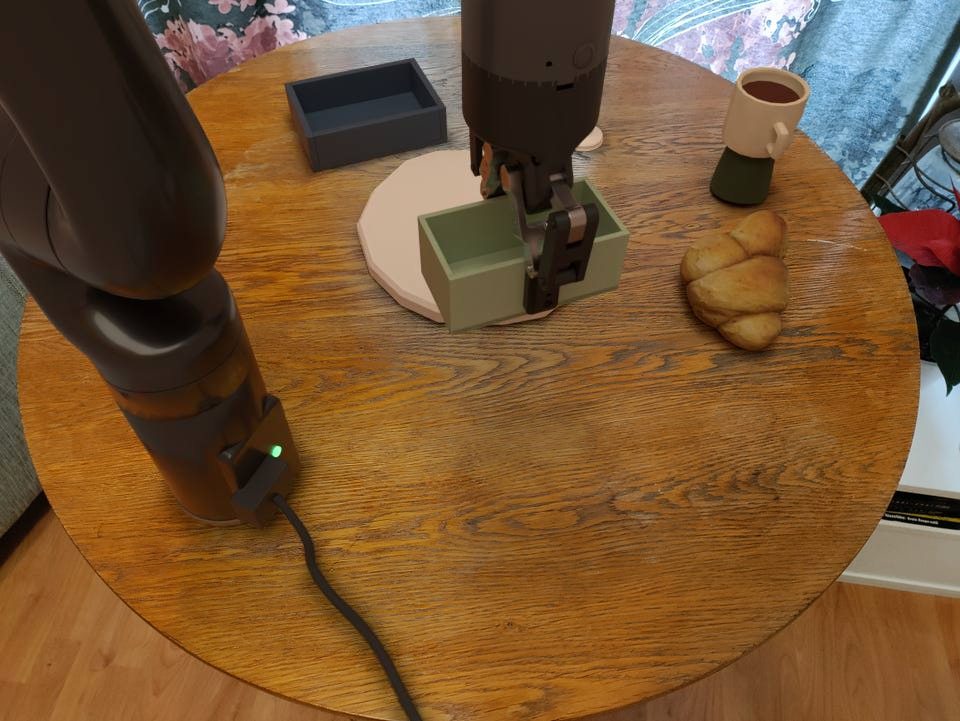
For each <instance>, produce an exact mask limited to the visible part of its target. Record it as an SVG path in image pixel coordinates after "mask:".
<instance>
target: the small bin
mask: <svg viewBox="0 0 960 721" xmlns="http://www.w3.org/2000/svg"><path fill="white" fill-rule="evenodd" d="M571 191H572V193H573V195H574V196H575V198H576V200H577V201H578V203H579V205H584V204H588V203H594V204H595V205H596V206H597V208H598V211H599V224H598V228H597V232H596V235H595V239H594V243H593V247H592V251H591V255H590V258H589V262H588V266H587V270H586V274H585V278H584V280H583V281H580V282H577V283H570V284H567V285H563V286H560V290H559V298H558V305H557V306H558V307H559V306H564V305H567V304H570V303H574V302H577V301H581V300H584V299H588V298H592V297H595V296H599V295H603V294H607V293H609V292H613V291H617V290H619V288H620V283H621V280H622V279H621V278H622V273H623V268H624V264H625V261H626V255H627V250H628V247H629V246H628V245H629V241H630V236H631V232H630V231H629V229H628V228H627V227H626V225H625V224H624V223H623V221H622V220H621V219H620V218H619V216H618V214H617V213H616V212H615V211H614V210H613V208H612V207H611V205H610V204H609V203H608V202H607V200H606V199H605V197H604V196H603V195H602V194H601V192H600V191H599V190H598V188H597V186H595V184H594V183H593V182H592V180H591V179H590V178H589V176H588V175H583V176H579V177H574V183H573V188H572V190H571ZM552 212H553V209H551V210H550V211H547V212H542V213H538V214H534V215H526V219H527V224H529V223H534V222H538V221H542V220H546V219H548V216H549V214H550V213H552ZM417 218H418V233H419V247H420V261H421V273H422V275H423V277H424V279H425V281H426V283H427V285H428V288H429V290H430V292H431V294H432V296H433V298H434V300H435V302H436V305H437V307H438V309H439V311H440V313H441V315H442V317H443V319H444V321H445V322H444V324H445V326H446V328H447V330H448V332H449V334H450V336H451V337H452V336H456V335H459V334H464V333H466V332H470V331H474V330H477V329H481V328H484V327H485V328H486V327H488V326H491V325H496V324H495V323H499V322H503V321H506V320H510V319H513V318H517V317H521V316H524V315H528V314H527V312H526V311H525V309H524V307H523V295H524V282H525V269H526V264H525V256H524V249H523V242H522V241H521V240H519V239H518V238H516V237H515V236H514V234H513V228H512V221H511V214H510V207H509V200H508V195H503V196H499V197H495V198H491V199H487V200H482V201H478V202H474V203H470V204H466V205H462V206H457V207H453V208H449V209H445V210H441V211H436V212H432V213H428V214H424V215H420V216H417ZM544 239H545V238H543V239H540V240H539V241H538V243H537V247H538V255H542V250H543V244H544Z"/></svg>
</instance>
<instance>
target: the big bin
mask: <svg viewBox="0 0 960 721" xmlns="http://www.w3.org/2000/svg"><path fill="white" fill-rule="evenodd" d="M283 85H284V89H285V90H284V91H285V94H286V98H287V99H286V100H287V104H288V108H289V113H290V118H291V120H292V123H293V125H294V128H295V130H296V132H297V135H298V137H299V140H300V142H301V144H302V147H303V150H304V151H305V154H306V157H307V159H308V162H309V164H310V166H311V169H312V171H313V173H317V172H322V171H325V170H330V169H334V168H335V169H336V168H339V167H344V166H348V165H352V164H357V163H361V162H365V161H369V160H374V159H378V158H383V157H387V156H391V155H395V154H400V153H405V152H408V151H413V150H418V149H422V148H426V147H431V146H435V145H440V144H444V143H447V142H448V122H447V119H448V118H447V107H446V105H445V104H444V102H443V100H442V99H441V97H440V96H439V94H438V92H437V91H436V89H435V88H434V86H433V85H432V83H431V82H430V80H429V79H428V76H427V75H426V74H425V72H424V70H423V69H422V68H421V65H419V63H418V61H417V60H416V58H415V57H410V58H405V59H399V60H394V61H389V62H384V63H380V64H374V65H369V66H364V67H358V68H354V69H349V70H348V69H347V70H344V71H340V72H333V73H329V74H324V75H319V76H313V77H309V78H308V77H307V78H303V79H298V80H294V81H293V80H292V81H289V82H285V83H284V84H283Z"/></svg>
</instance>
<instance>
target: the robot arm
mask: <svg viewBox="0 0 960 721" xmlns="http://www.w3.org/2000/svg"><path fill="white" fill-rule="evenodd" d="M616 3H617V0H460V46H461V47H460V48H461V50H460V52H461V54H460V55H461V59H460V60H461V113H462V116H463V119H464V122H465V125H467V127H468V135H469V137H468V138H469V150H470V160H471V165H470V168H471V171H472V172H473V175H474V176H475V177H477V176H481V177H482V181H481V183H480V194H481V196H482V197H483V199H484V200H487V199H491V198H495V197H499V196H503V195H508V200H509V207H510V214H511V221H512V228H513V234H514V236H515V237H516V238H518V239H519V240H521V241H522V242H523V249H524V256H525V264H526V269H525V282H524V295H523V307H524V309H525V311H526V312H527V314H528V315H534V314H537V313H541V312H544V311H548V310H552V309H554V310H555V309H556V307H557V305H558V298H559V290H560V286H563V285H567V284H570V283H577V282H580V281H583V280H584V278H585V274H586V270H587V266H588V262H589V258H590V255H591V251H592V247H593V243H594V239H595V235H596V232H597V228H598V224H599V211H598V208H597V206H596V205H595V204H594V203H588V204H584V205H579V203H578V201H577V200H576V198H575V196H574V195H573V193H572V191H571V190H572V188H573V183H574V179H575V176H574V170H573V167H574V166H573V157H572V156H573V154H574V152H575V151H576V150H575V149H576V148H577V147H578V146H579V145H580V143H581V142H582V141H583V140H584V139H585V138H586V137H587V136H588V135H589V134H590V133H591V132H592V131H593V129H594V128H595V126H596V127H597V124H598V122H599V119H600V113H601V112H600V111H601V106H602V99H603V93H604V92H603V91H604V84H605V78H606V70H607V65H608V57H609V51H610V44H611V39H612V30H613V23H614V18H615V10H616ZM483 151H484V156H483ZM551 209H553V212H552V213H550V214H549V216H548V219H546V220H542V221H538V222H534V223H529V224H527V219H526V215H534V214H538V213H542V212H547V211H550V210H551ZM227 226H228V198H227V190H226V185H225V180H224V176H223V171H222V169H221V165H220V163H219V160H218V158H217V155H216V153H215V150H214V148H213V146H212V144H211V141H210V139H209V137H208V136H207V134H206V132H205V129H204V128H203V125H202V124H201V122H200V120H199V118H198V116H197V114H196V113H195V111H194V109H193V107H192V105H191V104H190V101H189V99H188V97H187V96H186V94H185V91H184V90H183V88H182V85H180V82H179V81H178V79H177V77H176V75H175V73H174V72H173V70H172V68H171V66H170V63H169V62H168V60H167V58H166V56H165V55H164V53H163V51H162V49H161V47H160V45H159V43H158V41H157V40H156V37H155V35H154V33H153V32H152V30H151V27H150V25H149V24H148V21H147V20H146V18H145V15H144V14H143V11H142V10H141V7H140V5H139V2H138V1H137V0H0V254H1V256H2V257H3V258H4V260H5V262H6V263H7V264H8V267H10V268H11V270H12V271H13V273H14V274H15V276H16V277H17V278H18V280H19V281H20V282H21V284H22V286H23V287H24V288H25V289H26V291H27V292H28V294H29V295H30V296H31V298H32V299H33V301H34V302H35V303H36V305H37V306H38V308H39V309H40V310H41V311H42V313H43V315H44V316H45V317H46V319H48V321H49V323H50V324H51V325H52V326H53V327H54V328H55V329H56V331H57V332H58V333H59V334H60V335H61V336H62V337H63V338H64V339H65V340H67V341H68V342H69V344H71V345H73V347H75V348H76V349H77V350H78V351H79V352H80V353H82V354H83V355H84V356H85V357H86V358H87V359H88V360H89V362H90V363H91V365H92V366H93V368H94V369H95V371H96V372H97V373H98V376H99V377H100V378H101V380H102V382H103V383H104V385H105V386H106V388H107V390H108V391H109V393H110V395H111V396H112V398H113V400H114V401H115V403H116V405H117V406H118V408H119V409H120V411H121V413H122V415H123V416H124V418H125V419H126V420H127V422H128V424H129V425H130V427H131V429H132V431H133V432H134V433H135V435H136V437H137V438H138V440H139V441H140V443H141V445H142V446H143V448H144V450H145V451H146V452H147V455H148V457H150V459H151V461H152V462H153V464H154V466H155V467H156V469H157V471H158V472H159V474H160V476H161V477H162V478H163V480H164V482H165V483H166V484H167V486H168V488H169V489H170V490H171V492H172V496H173V498H174V499H175V501H176V503H177V505H178V507H179V508H180V510H182V511H183V513H184V514H185V515H186V516H187V517H189V518H190V519H192V520H193V521H195V522H197V523H200V524H202V525H205V526H209V527H217V528H218V527H219V528H224V527H225V528H227V527H228V528H229V527H235V526H240V525H243V524H247V525H249V526H251V527H253V528H255V529H258V530H260V531H264V529H266V527H267V525H269V524H268V523H269V522H270V521H271V520H272V518H273V516H274V515H275V513H276V512H277V511H278V510H279V511H280V512H281V513H282V515H283V516H284V517H285V519H286V520H287V521H288V522H289V523H290V524H291V526H292V527H293V529H294V530H295V532H296V533H297V535H298V537H299V539H300V540H301V543H302V546H303V551H304V552H303V553H304V560H305V565H306V568H307V570H308V572H309V574H310V575H311V577H312V580H313V581H314V582H315V584H316V585H317V588H318V589H319V590H320V592H321V593H322V594H323V595H324V596H325V597H326V600H328V602H329V603H331V605H332V606H334V607H335V608H336V610H337V611H338V612H339V613H340V614H342V616H344V618H346V619H347V620H348V621H349V622H350V624H352V625H353V626H354V627H355V629H356V630H357V631H358V632H359V634H360V635H361V636H362V637H363V638H364V639H365V641H366V642H367V644H368V645H369V646H370V648H371V650H372V651H373V652H374V654H375V656H376V657H377V659H378V661H379V663H380V664H381V666H382V668H383V670H384V672H385V674H386V676H387V678H388V680H389V682H390V684H391V686H392V688H393V690H394V692H395V695H396V696H397V698H398V700H399V702H400V704H401V707H402V709H403V711H404V712H405V714H406V716H407V718H408V720H409V721H424V720H423V718H422V717H421V715H420V713H419V711H418V710H417V708H416V705H415V704H414V702H413V700H412V697H411V696H410V694H409V692H408V690H407V688H406V686H405V684H404V683H403V682H404V681H403V680H402V678H401V676H400V674H399V672H398V670H397V668H396V667H395V664H394V662H393V661H392V659H391V657H390V655H389V654H388V652H387V650H386V649H385V647H384V645H383V644H382V642H381V640H380V639H379V638H378V637H377V635H376V633H375V632H374V631H373V630H372V628H371V627H370V626H369V625H368V624H367V622H366V621H365V620H364V619H363V618H362V617H361V615H359V613H357V612H356V610H354V609H353V608H352V607H351V605H349V604H348V603H347V602H346V601H344V599H343V598H341V596H339V594H338V593H337V592H336V591H335V590H334V589H333V587H332V586H331V585H330V583H329V582H328V581H327V580H326V578H325V576H324V575H323V573H322V572H321V570H320V568H319V565H318V563H317V560H316V552H315V550H316V549H315V545H314V541H313V539H312V536H311V535H310V534H311V533H310V532H309V530H308V529H307V527H306V526H305V524H304V522H303V521H302V519H301V518H300V517H299V515H298V514H297V513H296V512H295V511H294V510H293V508H292V507H291V506H290V505H289V504H288V502H287V501H286V500H285V499H286V498H287V496H288V495H289V494H290V492H291V491H292V489H293V488H294V487H295V485H296V480H295V478H296V477H297V475H298V473H299V472H300V471H301V469H302V468H303V463H302V460H301V457H300V454H299V451H298V448H297V445H296V442H295V440H294V437H293V434H292V431H291V427H290V424H289V420H288V419H287V415H286V413H285V412H286V411H285V410H284V406H283V404H282V401H281V399H280V397H279V396H277V395H274V394H272V393H270V392H268V389H267V387H266V383H265V381H264V377H263V375H262V372H261V369H260V366H259V364H258V361H257V358H256V356H255V352H254V349H253V346H252V345H251V340H250V338H249V335H248V332H247V329H246V326H245V324H244V322H243V318H242V315H241V311H240V309H239V306H238V303H237V299H236V297H235V295H234V293H233V292H234V291H233V290H232V288H231V287H230V284H229V282H228V281H227V280H226V278H225V277H224V276H223V274H222V273H221V272H220V271H219V270H218V269H217V268H216V267H214V266H215V265H216V262H217V260H218V259H219V257H220V255H221V252H222V249H223V246H224V242H225V238H226V233H227ZM543 238H545V239H544V244H543V250H542V255H538V247H537V243H538V241H539V240H540V239H543ZM557 308H558V307H557Z"/></svg>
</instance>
